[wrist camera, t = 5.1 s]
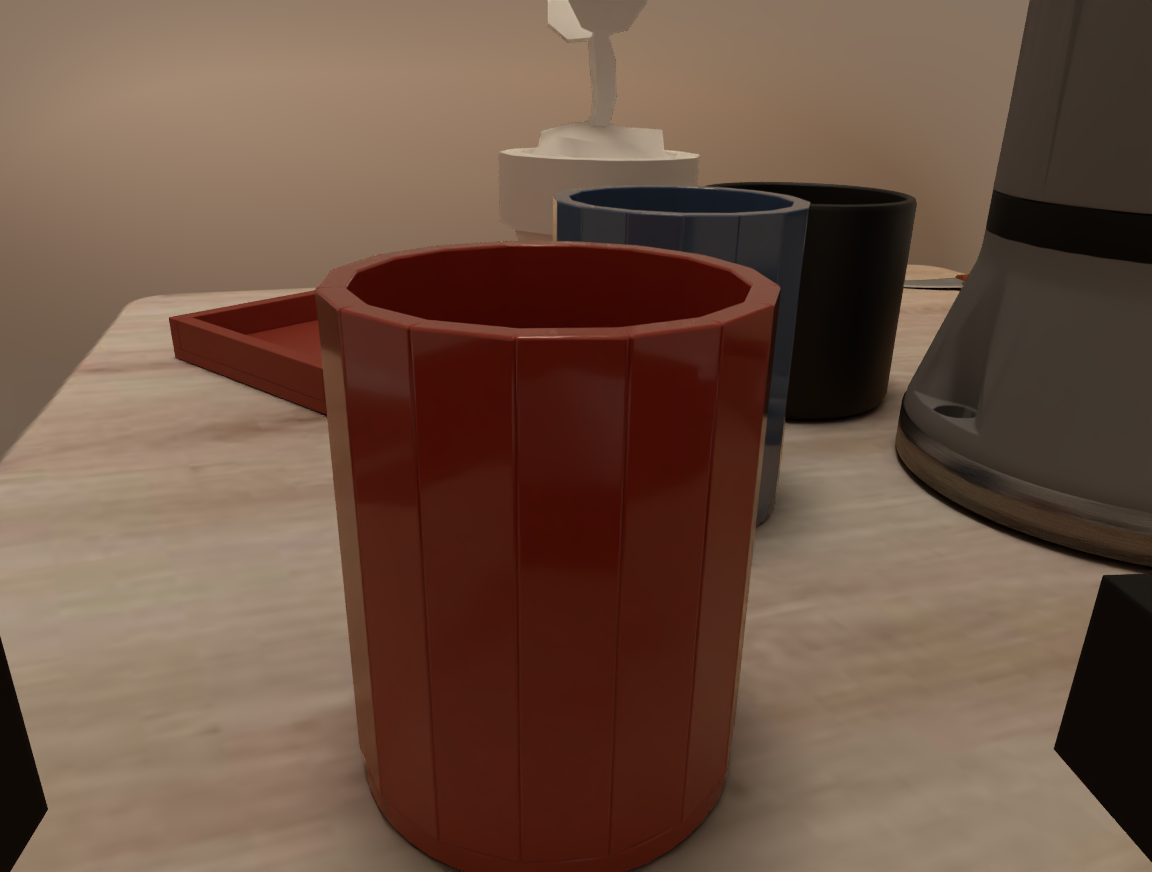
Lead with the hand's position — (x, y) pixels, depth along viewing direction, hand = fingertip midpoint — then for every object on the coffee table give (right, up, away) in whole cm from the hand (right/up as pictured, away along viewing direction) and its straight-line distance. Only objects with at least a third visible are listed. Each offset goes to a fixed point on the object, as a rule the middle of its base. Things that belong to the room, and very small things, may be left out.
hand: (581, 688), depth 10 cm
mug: (+10, +6, +32) cm, 34 cm away
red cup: (-1, -3, +8) cm, 9 cm away
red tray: (-11, +7, +34) cm, 37 cm away
